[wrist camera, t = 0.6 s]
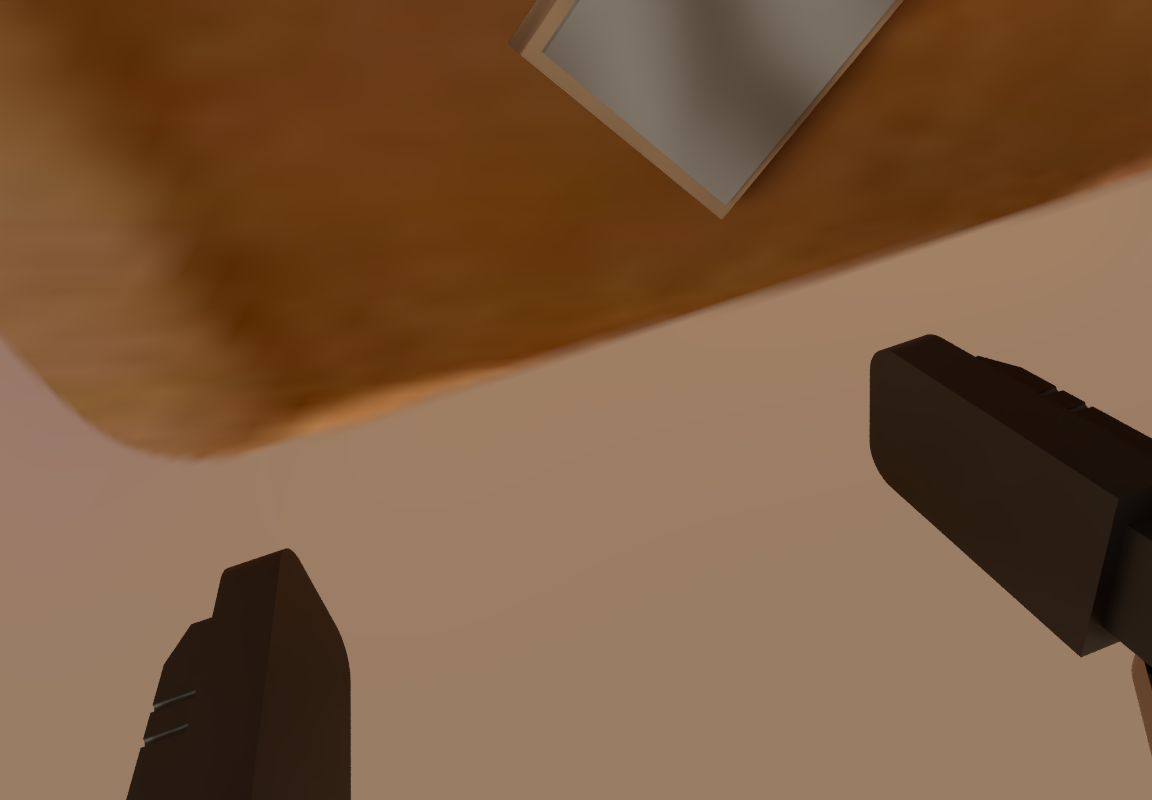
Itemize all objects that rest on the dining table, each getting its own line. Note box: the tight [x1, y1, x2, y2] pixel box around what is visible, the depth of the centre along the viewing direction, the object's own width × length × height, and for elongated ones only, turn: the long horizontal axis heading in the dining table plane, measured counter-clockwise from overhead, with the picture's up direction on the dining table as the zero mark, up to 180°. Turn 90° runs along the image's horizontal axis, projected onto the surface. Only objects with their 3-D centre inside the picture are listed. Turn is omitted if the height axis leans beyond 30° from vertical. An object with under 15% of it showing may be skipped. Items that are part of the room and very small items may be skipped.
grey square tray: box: [508, 0, 904, 220], centre depth 26 cm, size 10×10×3 cm
